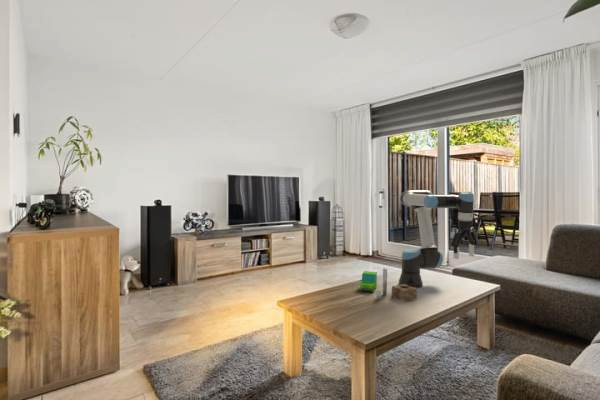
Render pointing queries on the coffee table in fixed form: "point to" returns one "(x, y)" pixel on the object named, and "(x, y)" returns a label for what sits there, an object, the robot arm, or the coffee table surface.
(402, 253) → the robot arm
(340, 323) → the coffee table surface
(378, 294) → the short pin
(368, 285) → the toy car
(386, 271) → the long pin
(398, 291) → the hole block
